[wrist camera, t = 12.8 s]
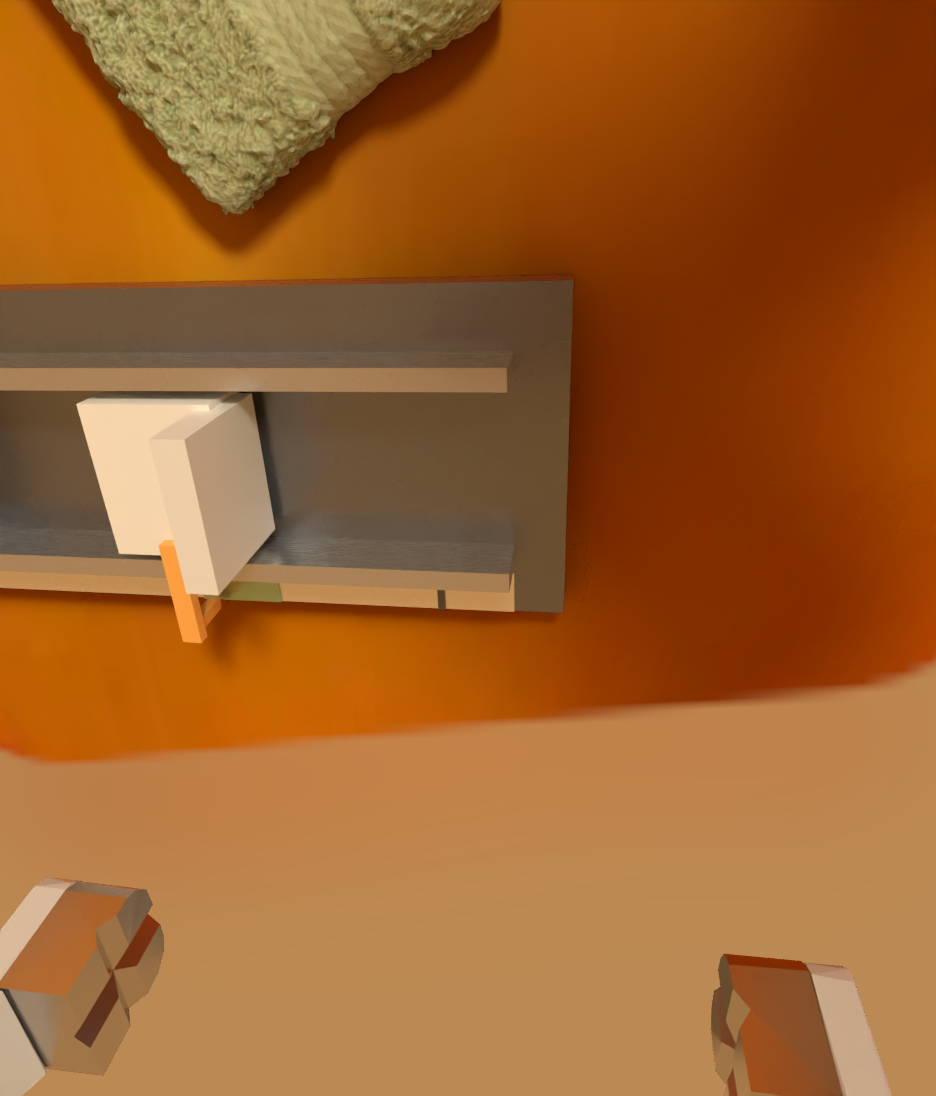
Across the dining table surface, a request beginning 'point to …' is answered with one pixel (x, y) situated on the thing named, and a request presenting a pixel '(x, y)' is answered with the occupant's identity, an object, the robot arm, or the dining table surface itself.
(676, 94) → the dining table surface
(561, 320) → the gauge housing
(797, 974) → the robot arm
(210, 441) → the cream corner bracket
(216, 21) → the washcloth
